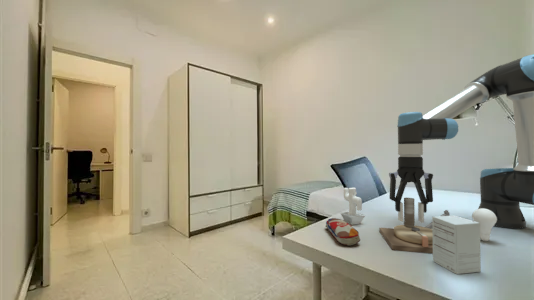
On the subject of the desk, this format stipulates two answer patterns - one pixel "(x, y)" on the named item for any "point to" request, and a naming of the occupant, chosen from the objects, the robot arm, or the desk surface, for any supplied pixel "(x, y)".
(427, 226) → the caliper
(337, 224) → the pencil case
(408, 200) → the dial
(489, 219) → the lightbulb
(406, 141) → the robot arm
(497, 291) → the desk surface
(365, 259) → the desk surface
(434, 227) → the supplement box
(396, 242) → the stand
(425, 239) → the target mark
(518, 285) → the desk surface
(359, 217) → the figurine
